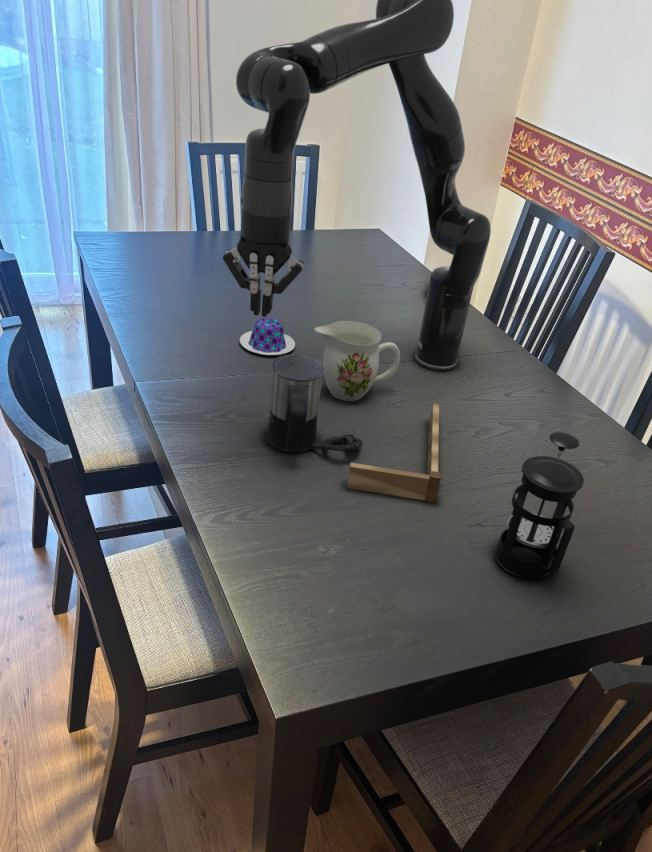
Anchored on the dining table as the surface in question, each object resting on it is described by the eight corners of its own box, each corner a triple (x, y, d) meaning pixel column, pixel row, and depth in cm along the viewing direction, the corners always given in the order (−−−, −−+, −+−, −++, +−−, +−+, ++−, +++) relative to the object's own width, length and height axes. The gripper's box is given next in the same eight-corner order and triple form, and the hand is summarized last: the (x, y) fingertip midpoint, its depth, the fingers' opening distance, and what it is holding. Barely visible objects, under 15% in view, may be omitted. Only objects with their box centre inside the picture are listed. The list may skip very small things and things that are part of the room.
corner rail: (360, 412, 153) (363, 389, 150) (436, 424, 153) (441, 401, 150) (346, 489, 133) (350, 464, 130) (434, 503, 133) (440, 478, 130)
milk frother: (259, 428, 144) (263, 355, 135) (338, 419, 150) (347, 348, 141) (285, 472, 134) (291, 397, 125) (368, 460, 140) (380, 387, 131)
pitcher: (401, 406, 157) (412, 343, 149) (313, 407, 153) (320, 342, 144) (386, 379, 165) (397, 318, 157) (302, 379, 161) (308, 316, 152)
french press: (479, 545, 125) (515, 423, 111) (525, 533, 129) (566, 413, 115) (524, 594, 117) (569, 469, 103) (571, 579, 121) (621, 456, 107)
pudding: (261, 362, 164) (262, 339, 161) (228, 339, 171) (229, 317, 167) (306, 350, 171) (308, 328, 168) (272, 328, 178) (274, 306, 174)
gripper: (313, 206, 122) (304, 311, 132) (228, 192, 122) (225, 299, 132) (307, 221, 116) (297, 330, 126) (217, 207, 116) (215, 317, 126)
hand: (260, 313), depth 129 cm, fingers closed
